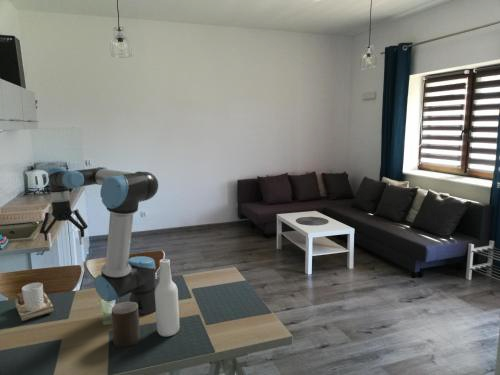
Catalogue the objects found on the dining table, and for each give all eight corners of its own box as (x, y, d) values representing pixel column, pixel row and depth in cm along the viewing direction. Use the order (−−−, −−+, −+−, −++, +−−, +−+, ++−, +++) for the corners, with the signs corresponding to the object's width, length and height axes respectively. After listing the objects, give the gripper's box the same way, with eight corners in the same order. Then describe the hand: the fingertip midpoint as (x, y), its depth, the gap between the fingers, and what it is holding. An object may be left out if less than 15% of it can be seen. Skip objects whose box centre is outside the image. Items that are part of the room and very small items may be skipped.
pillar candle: (125, 350, 134) (122, 313, 131) (108, 342, 139) (105, 306, 136) (145, 337, 142) (143, 302, 139) (128, 330, 147) (126, 295, 144)
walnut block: (31, 302, 165) (30, 293, 164) (21, 305, 162) (20, 297, 161) (28, 299, 167) (27, 291, 166) (18, 302, 164) (17, 294, 163)
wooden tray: (54, 314, 160) (53, 305, 159) (22, 324, 152) (21, 315, 151) (45, 299, 173) (44, 291, 172) (15, 307, 166) (14, 299, 165)
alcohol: (174, 338, 141) (170, 265, 135) (153, 336, 142) (148, 264, 137) (182, 325, 149) (179, 256, 144) (162, 324, 151) (158, 255, 146)
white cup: (35, 313, 155) (33, 291, 153) (20, 311, 156) (17, 289, 155) (49, 304, 162) (46, 283, 161) (34, 302, 164) (31, 281, 162)
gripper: (91, 197, 173) (96, 240, 176) (34, 202, 168) (39, 246, 170) (87, 199, 166) (92, 244, 168) (27, 204, 161) (33, 250, 163)
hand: (66, 245), depth 169 cm, fingers open, 13 cm apart
